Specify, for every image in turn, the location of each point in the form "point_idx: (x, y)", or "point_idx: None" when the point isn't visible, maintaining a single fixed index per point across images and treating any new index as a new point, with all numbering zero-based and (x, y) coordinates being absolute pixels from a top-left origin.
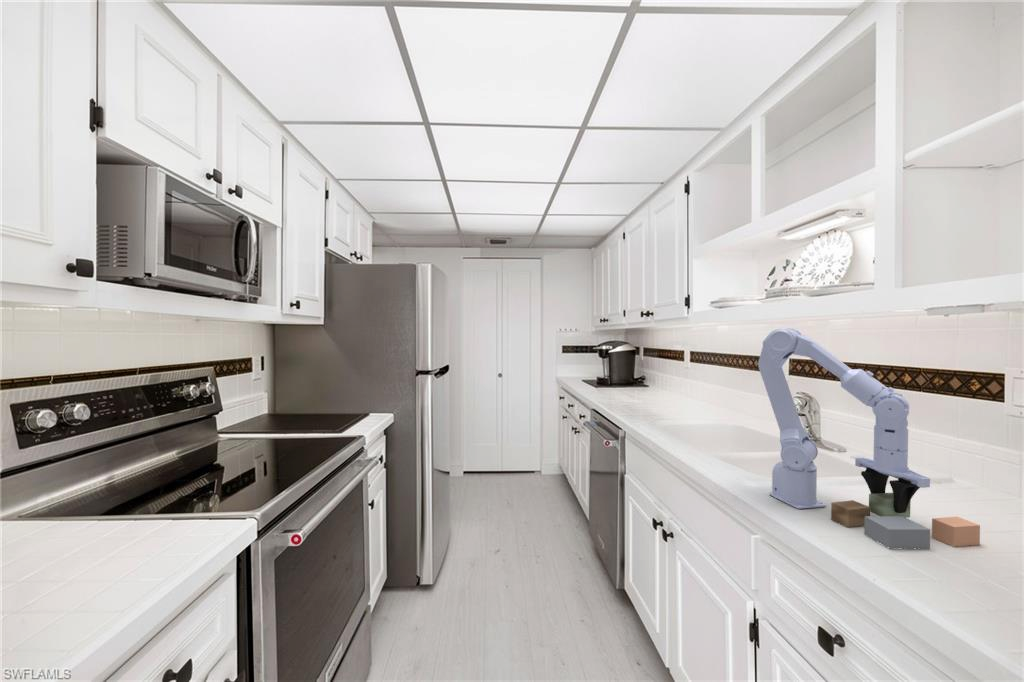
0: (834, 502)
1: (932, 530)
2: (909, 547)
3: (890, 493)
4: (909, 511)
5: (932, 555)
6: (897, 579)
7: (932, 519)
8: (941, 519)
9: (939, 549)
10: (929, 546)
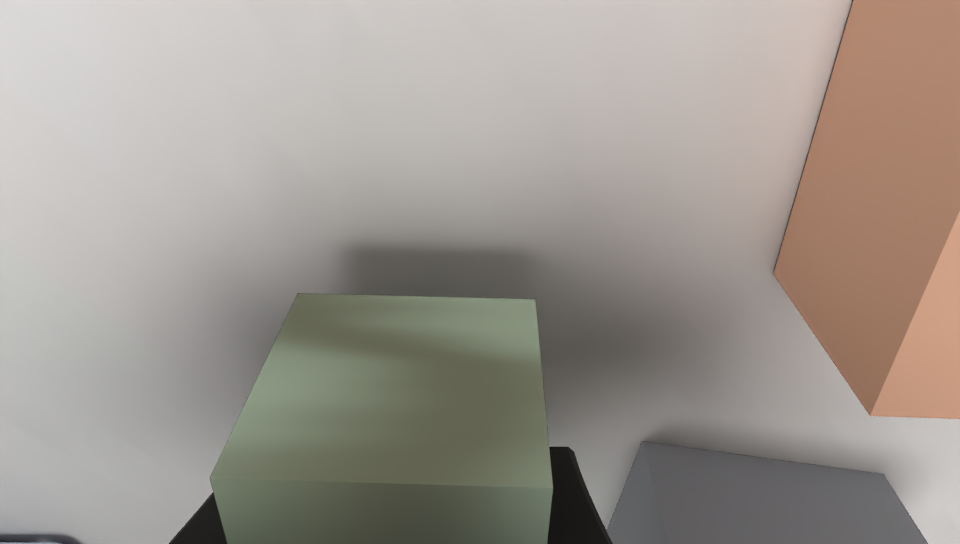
0: None
1: (806, 315)
2: None
3: (262, 536)
4: (537, 355)
5: (938, 530)
6: None
7: (870, 409)
8: (951, 340)
9: (923, 419)
10: (894, 495)
